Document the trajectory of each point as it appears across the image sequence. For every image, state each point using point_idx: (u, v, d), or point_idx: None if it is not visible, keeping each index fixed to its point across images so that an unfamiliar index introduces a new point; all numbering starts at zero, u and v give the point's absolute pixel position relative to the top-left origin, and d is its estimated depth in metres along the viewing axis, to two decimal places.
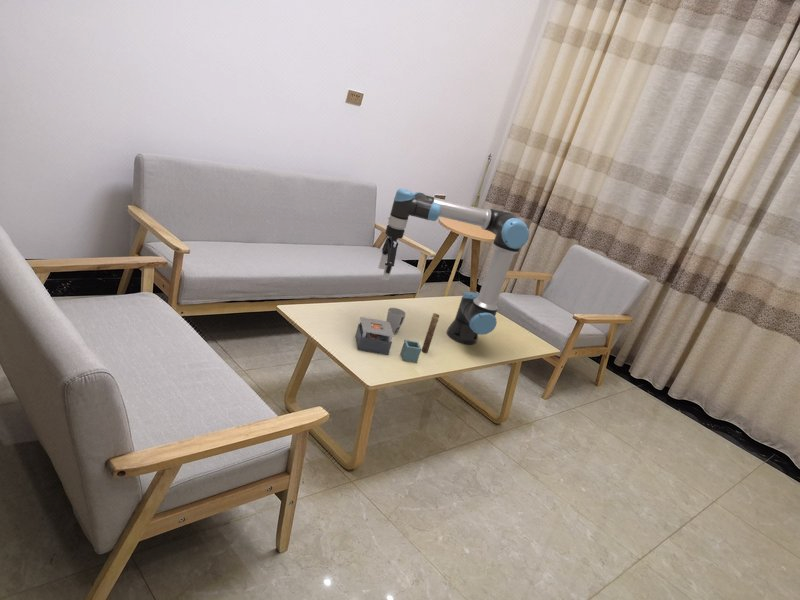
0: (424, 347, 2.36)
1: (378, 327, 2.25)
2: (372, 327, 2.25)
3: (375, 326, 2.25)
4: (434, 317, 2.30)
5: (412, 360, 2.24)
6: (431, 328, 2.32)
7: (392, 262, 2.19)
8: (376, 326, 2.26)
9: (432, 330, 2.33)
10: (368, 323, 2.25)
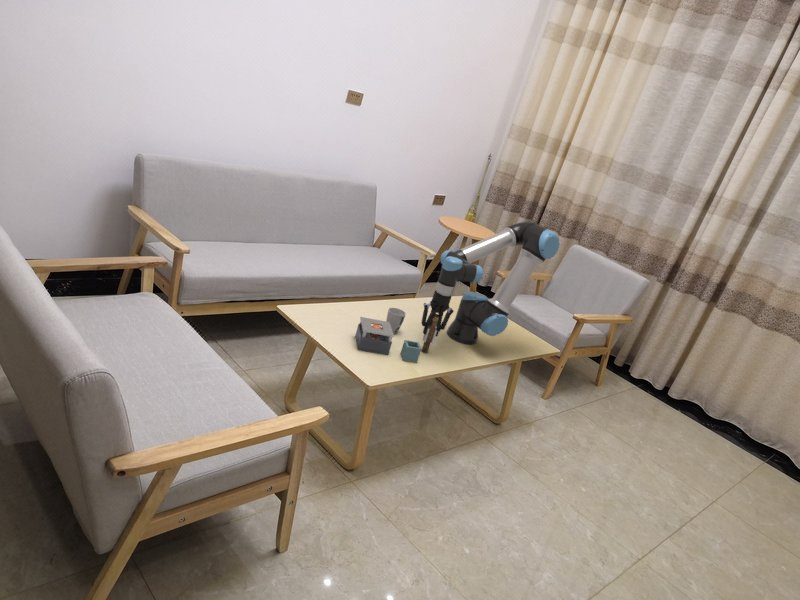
0: (424, 347, 2.36)
1: (378, 327, 2.25)
2: (372, 327, 2.25)
3: (375, 326, 2.25)
4: (434, 317, 2.30)
5: (412, 360, 2.24)
6: (431, 328, 2.32)
7: (422, 322, 2.31)
8: (376, 326, 2.26)
9: (432, 330, 2.33)
10: (368, 323, 2.25)
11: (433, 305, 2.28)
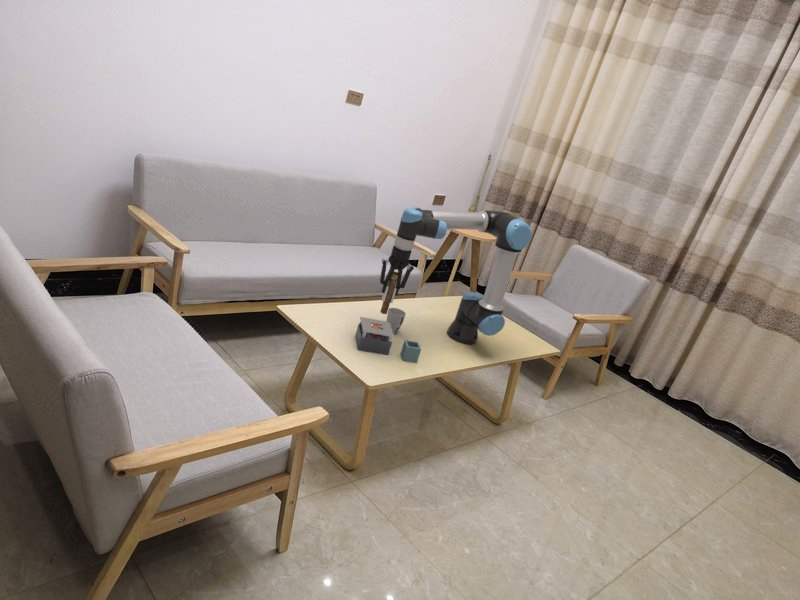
0: (383, 308, 2.22)
1: (378, 327, 2.25)
2: (372, 327, 2.25)
3: (375, 326, 2.25)
4: (393, 275, 2.17)
5: (412, 360, 2.24)
6: (390, 287, 2.19)
7: (380, 279, 2.18)
8: (376, 326, 2.26)
9: (391, 289, 2.19)
10: (368, 323, 2.25)
11: (392, 261, 2.14)
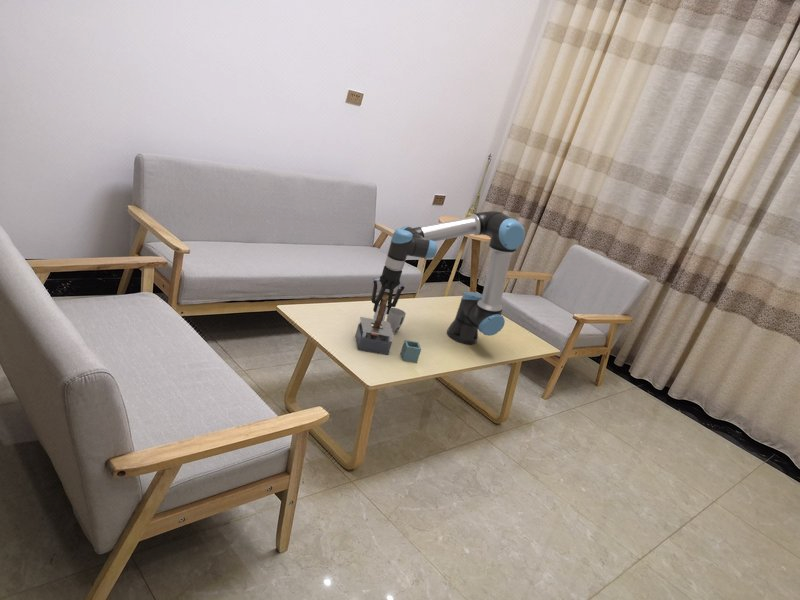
0: (374, 327, 2.25)
1: None
2: None
3: None
4: (384, 295, 2.19)
5: (412, 360, 2.24)
6: (381, 307, 2.21)
7: (372, 299, 2.20)
8: None
9: (382, 309, 2.22)
10: (368, 323, 2.25)
11: (383, 281, 2.17)
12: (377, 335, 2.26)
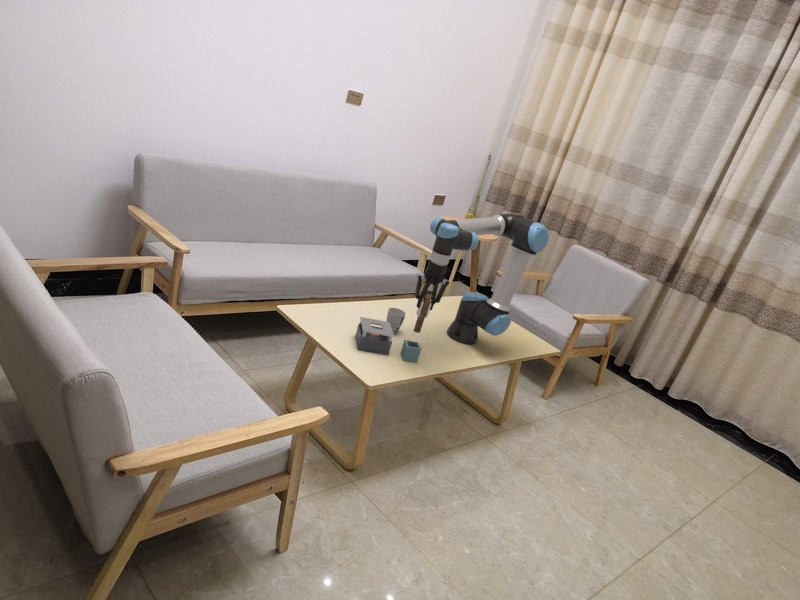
0: (416, 326, 2.21)
1: None
2: None
3: None
4: (427, 294, 2.16)
5: (412, 360, 2.24)
6: (423, 306, 2.17)
7: (416, 294, 2.16)
8: None
9: (425, 308, 2.18)
10: (368, 323, 2.25)
11: (427, 276, 2.13)
12: (377, 335, 2.26)
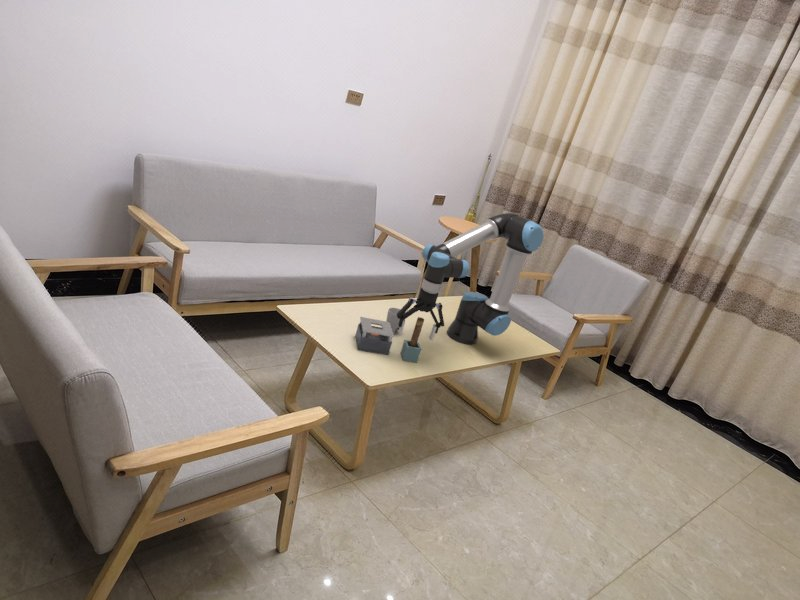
0: None
1: None
2: None
3: None
4: (418, 321, 2.20)
5: (412, 360, 2.24)
6: (415, 333, 2.22)
7: (398, 314, 2.18)
8: None
9: (417, 335, 2.22)
10: (368, 323, 2.25)
11: (418, 303, 2.17)
12: (377, 335, 2.26)
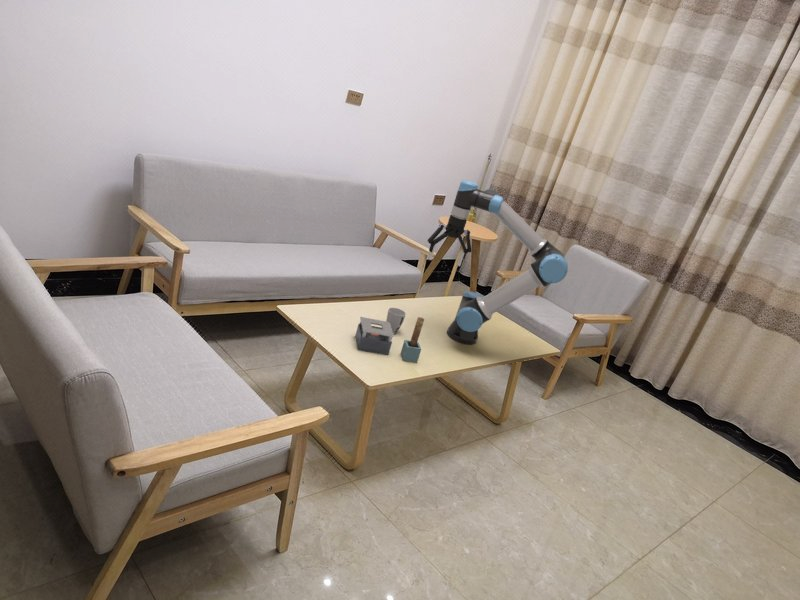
0: None
1: None
2: None
3: None
4: (418, 321, 2.20)
5: (412, 360, 2.24)
6: (415, 333, 2.22)
7: (429, 239, 2.35)
8: None
9: (417, 335, 2.22)
10: (368, 323, 2.25)
11: (448, 229, 2.34)
12: (377, 335, 2.26)
